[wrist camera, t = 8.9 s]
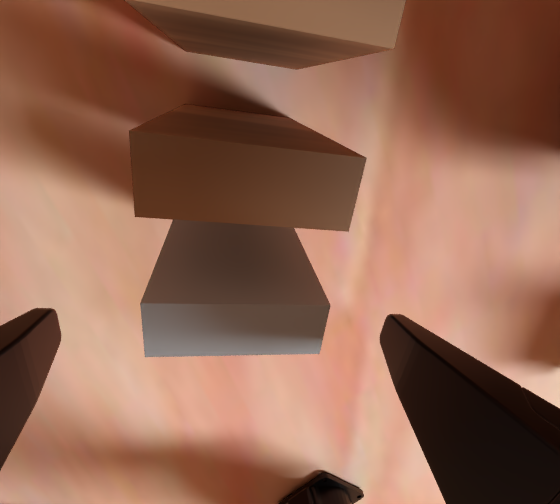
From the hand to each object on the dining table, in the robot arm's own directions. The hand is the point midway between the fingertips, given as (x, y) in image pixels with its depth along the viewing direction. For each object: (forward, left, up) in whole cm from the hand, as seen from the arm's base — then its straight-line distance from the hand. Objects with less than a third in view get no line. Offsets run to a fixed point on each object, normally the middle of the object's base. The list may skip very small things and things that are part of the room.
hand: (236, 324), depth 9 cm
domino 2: (+2, -3, -10) cm, 11 cm away
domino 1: (0, 0, -10) cm, 10 cm away
